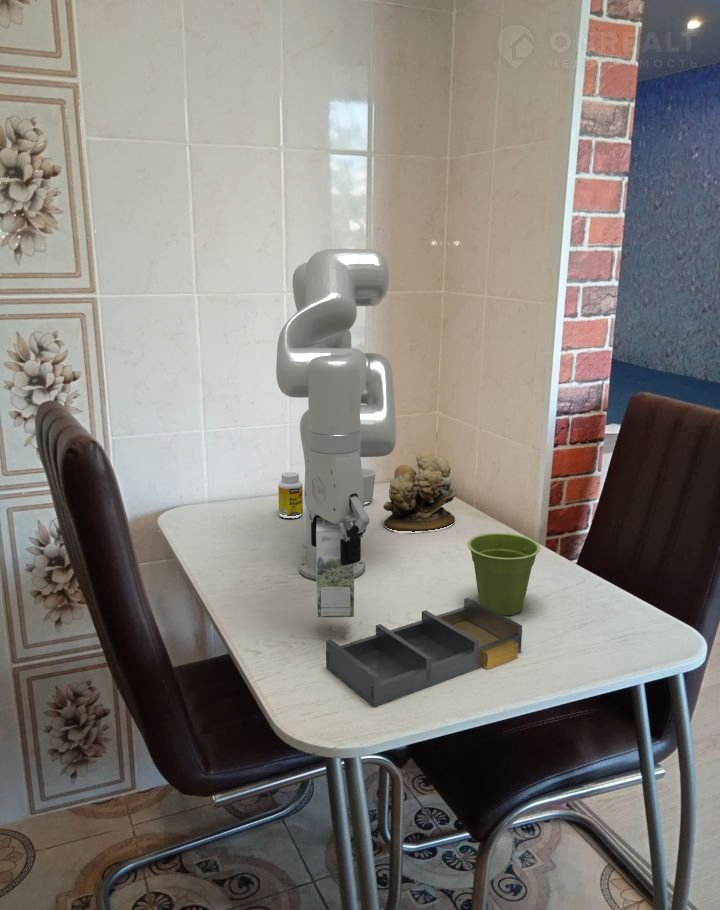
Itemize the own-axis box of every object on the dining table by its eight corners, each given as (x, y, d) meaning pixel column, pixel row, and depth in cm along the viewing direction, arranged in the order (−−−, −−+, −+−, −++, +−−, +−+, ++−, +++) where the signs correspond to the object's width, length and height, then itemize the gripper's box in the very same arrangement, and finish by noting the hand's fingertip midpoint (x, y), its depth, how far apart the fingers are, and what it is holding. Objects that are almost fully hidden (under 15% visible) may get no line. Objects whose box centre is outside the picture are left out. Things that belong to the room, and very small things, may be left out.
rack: (326, 668, 107) (325, 640, 106) (466, 621, 121) (467, 597, 120) (378, 711, 96) (378, 681, 95) (525, 654, 110) (527, 628, 109)
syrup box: (353, 601, 119) (353, 515, 115) (354, 618, 113) (354, 529, 109) (317, 601, 119) (316, 515, 115) (316, 619, 113) (315, 529, 109)
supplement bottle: (289, 521, 170) (288, 478, 168) (274, 516, 174) (273, 473, 172) (307, 516, 174) (307, 474, 172) (292, 511, 178) (291, 469, 176)
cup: (328, 506, 182) (328, 474, 180) (335, 497, 189) (334, 466, 187) (372, 508, 180) (372, 476, 178) (377, 499, 188) (377, 468, 186)
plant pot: (452, 599, 129) (454, 538, 127) (509, 588, 134) (513, 529, 131) (489, 628, 119) (493, 562, 116) (551, 615, 123) (555, 551, 121)
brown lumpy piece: (440, 511, 178) (443, 442, 174) (469, 526, 168) (472, 452, 164) (373, 522, 170) (374, 449, 166) (399, 538, 160) (401, 461, 156)
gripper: (283, 432, 113) (286, 540, 118) (345, 458, 99) (345, 580, 104) (325, 426, 117) (326, 531, 122) (390, 450, 103) (389, 568, 108)
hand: (335, 553), depth 113 cm, fingers closed on syrup box, 7 cm apart
